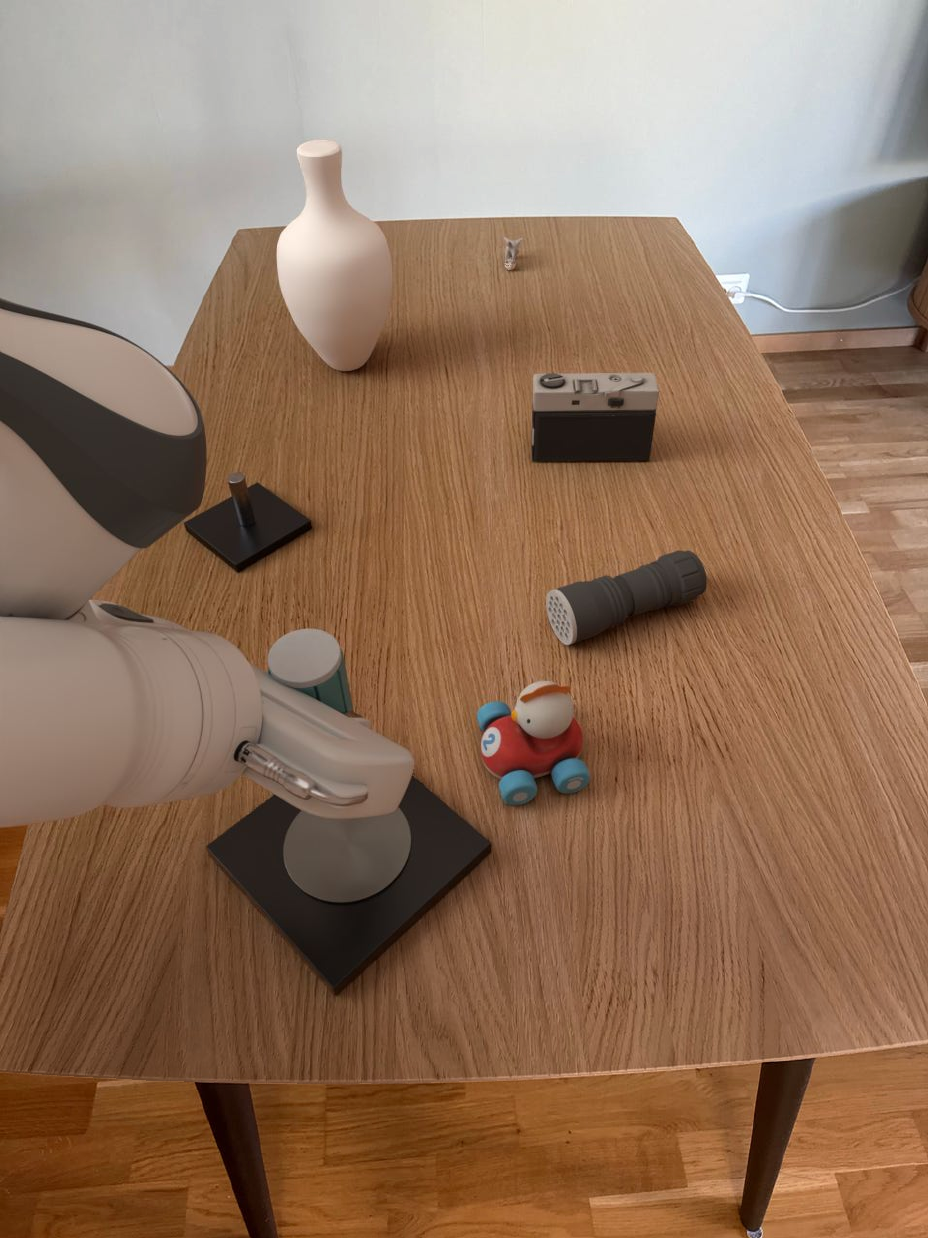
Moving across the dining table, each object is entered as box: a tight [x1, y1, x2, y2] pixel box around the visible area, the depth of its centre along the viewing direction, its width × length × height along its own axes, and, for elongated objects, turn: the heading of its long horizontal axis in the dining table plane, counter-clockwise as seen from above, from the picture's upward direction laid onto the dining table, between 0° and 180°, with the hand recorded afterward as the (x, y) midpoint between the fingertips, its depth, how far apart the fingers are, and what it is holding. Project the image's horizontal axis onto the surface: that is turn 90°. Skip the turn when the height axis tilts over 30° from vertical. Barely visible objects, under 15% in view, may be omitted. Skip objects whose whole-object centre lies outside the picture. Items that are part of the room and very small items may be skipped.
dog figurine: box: [502, 236, 524, 271], centre depth 143 cm, size 3×8×6 cm
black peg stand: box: [183, 471, 313, 574], centre depth 98 cm, size 10×10×7 cm
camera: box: [530, 372, 660, 463], centre depth 107 cm, size 14×8×10 cm, turn 88°
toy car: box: [476, 680, 591, 806], centre depth 75 cm, size 9×9×10 cm
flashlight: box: [545, 549, 708, 646], centre depth 88 cm, size 15×5×5 cm, turn 114°
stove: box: [205, 774, 493, 997], centre depth 72 cm, size 16×16×2 cm
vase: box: [276, 139, 394, 372], centre depth 115 cm, size 14×14×28 cm
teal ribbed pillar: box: [267, 628, 355, 712], centre depth 59 cm, size 4×4×12 cm
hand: (323, 708), depth 60 cm, fingers closed on teal ribbed pillar, 4 cm apart
